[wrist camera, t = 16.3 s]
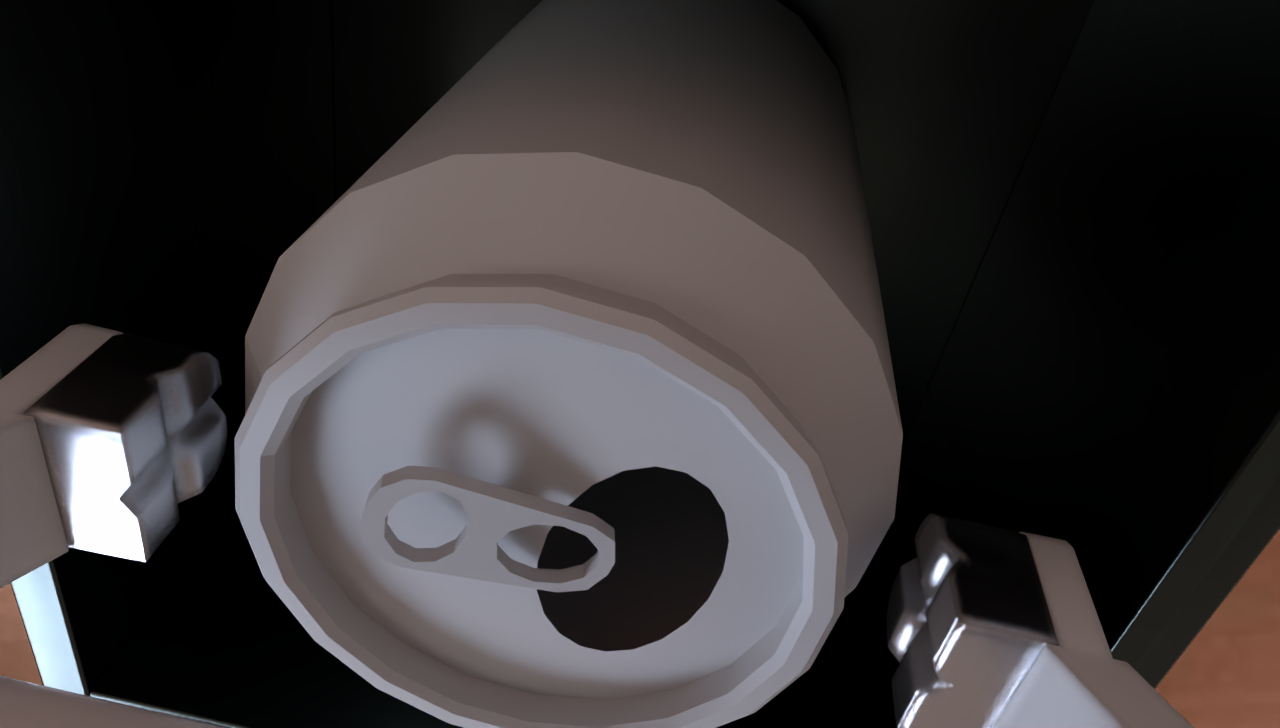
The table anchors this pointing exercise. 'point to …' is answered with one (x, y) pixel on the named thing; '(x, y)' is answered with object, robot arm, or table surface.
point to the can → (584, 380)
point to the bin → (906, 266)
